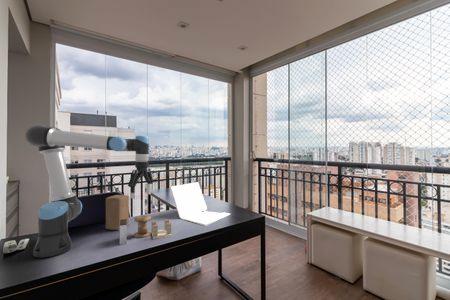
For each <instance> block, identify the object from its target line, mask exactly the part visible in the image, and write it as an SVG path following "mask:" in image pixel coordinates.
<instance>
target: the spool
mask: <svg viewBox="0 0 450 300" xmlns="http://www.w3.org/2000/svg"><path fill="white" fill-rule="evenodd" d="M151 218H152V217H151V215H139V216H135V217H134V218H133V221H134V222H136V223H137V231H136V232H134V235H133V237H134V238H136V239H143V238H148V237H150V236H152V233H151V231H150V230H148V222H149V221H151Z"/></svg>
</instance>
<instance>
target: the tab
mask: <svg viewBox="0 0 450 300" xmlns="http://www.w3.org/2000/svg"><path fill="white" fill-rule="evenodd" d="M127 230H128V226H127V219H122V220H120V230H119V245H120V246H121V245H126V244H127V239H128V238H127V236H128V235H127V234H128V231H127Z"/></svg>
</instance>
